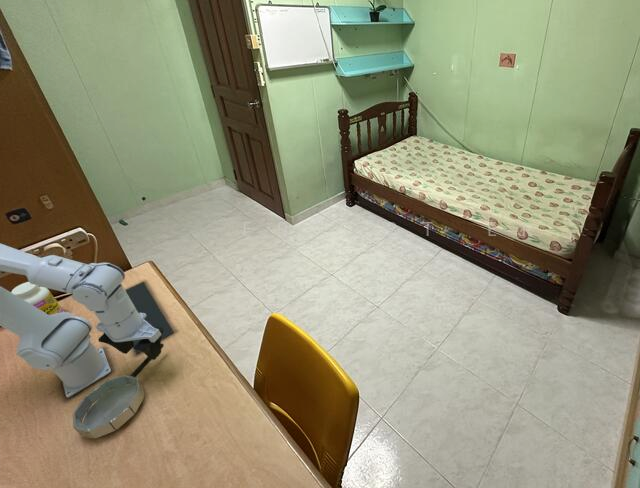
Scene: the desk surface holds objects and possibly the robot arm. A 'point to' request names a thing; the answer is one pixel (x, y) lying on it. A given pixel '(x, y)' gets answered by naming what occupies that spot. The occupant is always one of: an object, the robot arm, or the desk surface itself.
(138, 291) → the mat
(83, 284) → the robot arm
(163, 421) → the desk surface
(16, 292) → the supplement bottle
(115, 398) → the frying pan
